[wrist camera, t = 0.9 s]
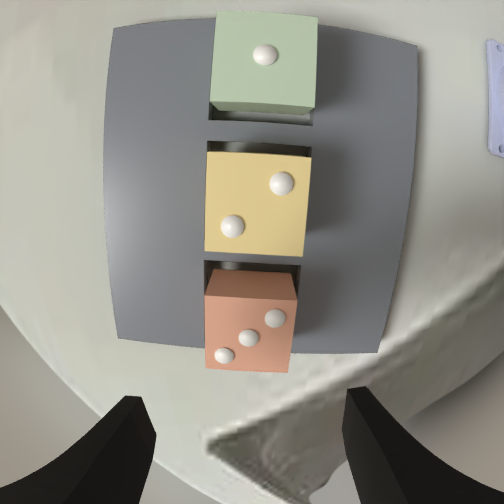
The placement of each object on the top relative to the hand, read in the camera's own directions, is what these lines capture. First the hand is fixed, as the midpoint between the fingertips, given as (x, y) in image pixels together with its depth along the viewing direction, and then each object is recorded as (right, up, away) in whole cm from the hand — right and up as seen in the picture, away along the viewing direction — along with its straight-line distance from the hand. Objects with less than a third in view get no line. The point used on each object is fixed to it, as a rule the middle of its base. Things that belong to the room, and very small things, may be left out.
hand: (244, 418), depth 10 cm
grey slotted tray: (0, +9, +7) cm, 11 cm away
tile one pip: (+1, +14, +4) cm, 15 cm away
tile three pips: (0, +3, +8) cm, 8 cm away
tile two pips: (0, +8, +6) cm, 10 cm away
